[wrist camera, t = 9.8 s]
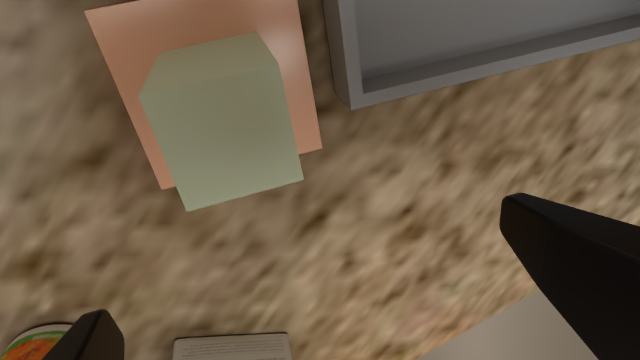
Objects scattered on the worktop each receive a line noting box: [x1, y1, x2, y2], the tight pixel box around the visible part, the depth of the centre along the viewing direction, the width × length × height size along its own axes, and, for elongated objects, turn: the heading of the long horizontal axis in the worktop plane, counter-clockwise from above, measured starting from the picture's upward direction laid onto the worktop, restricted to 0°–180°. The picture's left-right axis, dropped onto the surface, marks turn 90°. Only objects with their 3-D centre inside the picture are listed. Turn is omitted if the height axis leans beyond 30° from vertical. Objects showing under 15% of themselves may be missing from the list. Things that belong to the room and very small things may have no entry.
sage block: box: [138, 31, 304, 212], centre depth 15 cm, size 4×4×6 cm
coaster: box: [84, 0, 322, 190], centre depth 18 cm, size 8×8×1 cm
